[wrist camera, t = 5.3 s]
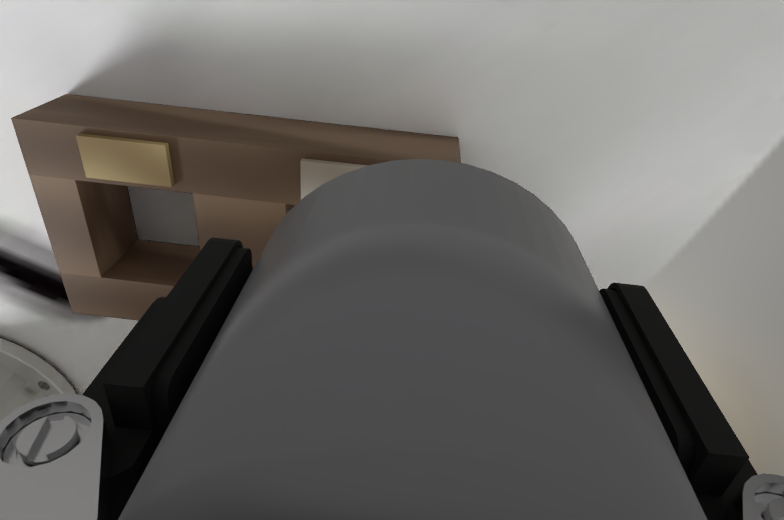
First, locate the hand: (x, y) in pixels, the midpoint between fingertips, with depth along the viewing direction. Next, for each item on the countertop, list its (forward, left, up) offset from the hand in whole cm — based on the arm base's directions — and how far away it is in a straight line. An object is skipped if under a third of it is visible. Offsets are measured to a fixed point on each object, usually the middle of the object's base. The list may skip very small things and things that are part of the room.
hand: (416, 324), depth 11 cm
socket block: (-7, +8, -17) cm, 20 cm away
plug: (0, 0, -4) cm, 4 cm away
